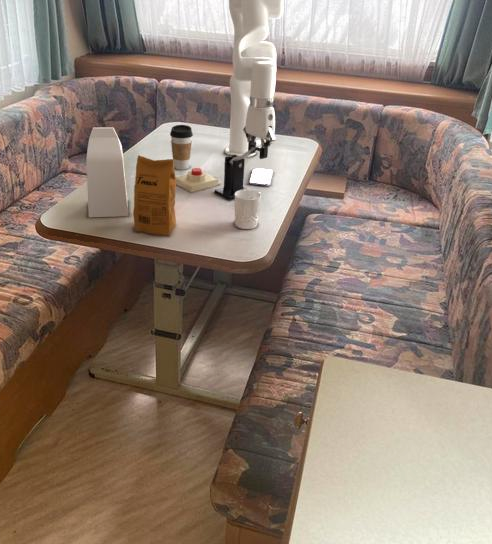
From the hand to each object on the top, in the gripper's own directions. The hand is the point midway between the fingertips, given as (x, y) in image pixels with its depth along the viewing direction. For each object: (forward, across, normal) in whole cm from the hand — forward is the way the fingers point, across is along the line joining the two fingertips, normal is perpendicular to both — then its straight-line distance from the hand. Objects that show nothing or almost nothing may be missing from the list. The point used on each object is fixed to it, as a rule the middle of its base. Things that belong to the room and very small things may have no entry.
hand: (257, 155), depth 197 cm
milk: (+12, +13, +51) cm, 54 cm away
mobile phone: (+12, +5, -8) cm, 15 cm away
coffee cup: (+12, +31, +9) cm, 34 cm away
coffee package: (+12, -7, +47) cm, 49 cm away
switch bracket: (+12, 0, +10) cm, 16 cm away
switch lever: (0, 0, +6) cm, 6 cm away
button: (+8, +14, +15) cm, 22 cm away
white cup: (+12, -21, +23) cm, 34 cm away
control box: (+12, +14, +15) cm, 24 cm away
